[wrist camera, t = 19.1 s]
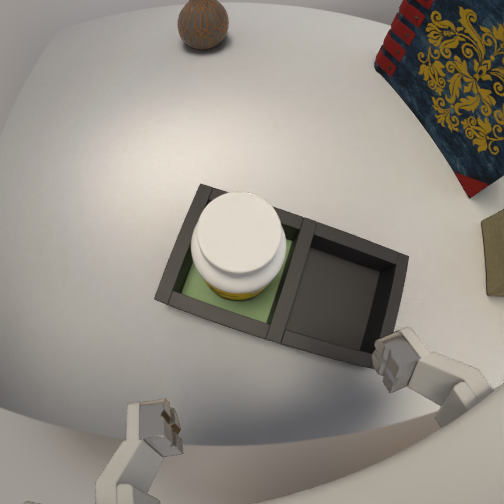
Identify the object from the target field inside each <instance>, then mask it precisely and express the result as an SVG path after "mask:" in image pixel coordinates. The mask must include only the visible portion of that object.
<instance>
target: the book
mask: <svg viewBox="0 0 504 504" xmlns="http://www.w3.org/2000/svg"><path fill="white" fill-rule="evenodd" d="M399 8H400V9H399V13H397V15H396V16H395V18H394V20H393V22H392V24H391V29H390V30H389V31H388V33H387V35H386V37H385V39H384V43H383V45H382V46H381V48H380V50H379V52H378V54H377V56H376V61H375V69H376V71H377V72H379V73H380V74H381V75H382V76H383V77H384V78H385V79H386V80H387V81H388V82H389V84H390V85H391V86H392V87H393V88H394V89H395V91H396V92H397V93H398V94H399V95H400V96H401V98H402V99H403V100H404V101H405V103H406V104H407V105H408V106H409V108H410V109H411V110H412V111H413V113H414V114H415V115H416V117H417V118H418V119H419V120H420V122H421V123H422V125H423V126H424V127H425V129H426V130H427V131H428V133H429V134H430V136H431V137H432V138H433V140H434V141H435V143H436V144H437V146H438V147H439V149H440V150H441V152H442V153H443V155H444V156H445V158H446V159H447V161H448V162H449V164H450V166H451V167H452V169H453V170H454V173H455V174H456V176H457V178H458V179H459V181H460V183H461V185H462V186H463V188H464V190H465V192H466V193H467V194H468V196H469V198H471V197H473V196H474V195H476V194H477V193H479V192H480V191H481V190H483V189H484V188H486V187H487V186H489V185H490V184H492V183H493V182H495V181H496V180H498V179H499V178H501V177H502V176H504V0H403V1H402V4H401V5H400V7H399Z"/></svg>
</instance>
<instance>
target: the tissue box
mask: <svg viewBox="0 0 504 504" xmlns="http://www.w3.org/2000/svg"><path fill="white" fill-rule="evenodd" d="M482 229H483V237H484V247H485V257H486V271H487V294H488V295H490V296H504V209H503V210H501V211H500V212H498V213H496V214H494V215H492V216H490V217H488V218H486V219H484V220H483V221H482Z"/></svg>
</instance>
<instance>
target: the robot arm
mask: <svg viewBox="0 0 504 504" xmlns="http://www.w3.org/2000/svg"><path fill="white" fill-rule="evenodd" d="M374 346H375V348H376V349H375V351H374V352H373V354H372V362H373V366H374V368H375V370H376V372H377V373H378V374H380V375H382V376H383V383H384V385H385V386H386V388H387V390H388V391H389V393H392V392H395V391H397V390H399V389H401V388H404V387H406V386H407V387H408V388H410V389H412V390H414V391H415V392H417V393H419V394H421V395H422V396H424V397H426V398H428V399H429V400H431V401H433V402H435V403H436V404H438V405H440V406H441V408H440V409H439V411H438V412H437V414H436V415H435V419H436V421H437V422H438V424H439V426H440V427H441V429H439V430H438V431H436V432H434V433H433V434H431V435H429V436H428V437H426V438H424V439H422V440H421V441H419V442H417V443H415V444H413V445H412V446H410V447H408V448H406V449H404V450H402V451H400V452H398V453H396V454H395V455H392V456H390V457H388V458H386V459H384V460H382V461H380V462H378V463H375V464H373V465H371V466H369V467H366V468H364V469H362V470H359V471H357V472H355V473H352V474H350V475H347V476H344V477H342V478H339V479H337V480H334V481H331V482H328V483H325V484H322V485H319V486H316V487H313V488H310V489H307V490H303V491H300V492H297V493H293V494H289V495H286V496H282V497H278V498H274V499H270V500H266V501H261V502H257V503H252V504H504V383H503V384H502V385H501V386H499V387H498V388H497V389H496V390H494V389H493V388H492V386H491V385H490V384H489V382H488V381H487V380H486V379H485V377H484V376H483V375H482V373H481V372H480V371H479V370H478V369H476V368H474V367H471V366H469V365H466V364H463V363H461V362H458V361H456V360H453V359H451V358H449V357H446V356H444V355H441V354H439V353H436V352H432V353H431V352H430V351H429V349H428V348H427V347H426V346H425V344H424V343H423V342H422V341H421V339H420V338H419V337H418V336H417V334H416V333H415V332H414V331H413V330H412V328H411V327H409V326H408V327H405V328H403V329H401V330H398V331H395V332H393V333H391V334H388V335H386V336H384V337H381V338H379V339H377V340H376V341H375V344H374ZM180 430H181V427H180V421H179V417H178V414H177V412H176V411H175V409H174V408H171V407H170V402H169V401H168V400H167V399H159V400H152V401H145V402H136V403H129V404H128V407H127V424H126V441H122V443H121V445H120V446H119V448H118V449H117V450H116V452H115V454H114V455H113V457H112V458H111V460H110V461H109V463H108V464H107V466H106V467H105V469H104V470H103V472H102V473H101V475H100V476H99V478H98V480H97V481H96V483H95V504H160V501H159V500H158V499H157V498H155V497H153V496H150V495H149V494H147V492H148V490H149V488H150V486H151V483H152V482H153V479H154V477H155V475H156V473H157V471H158V469H159V467H160V465H161V462H162V460H163V457H166V456H174V455H180V454H183V446H182V439H181V438H180V437H179V436H178V434H179V432H180ZM23 504H40V503H35V502H31V501H27V502H24V503H23Z"/></svg>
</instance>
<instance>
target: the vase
mask: <svg viewBox="0 0 504 504" xmlns="http://www.w3.org/2000/svg"><path fill="white" fill-rule="evenodd" d="M228 24H229V20H228V15H227V12H226V10H225V8H224V7H223V6H222V5H221V4H220V3H219V2H218V1H217V0H189V2H188V3H187V4H186V5H185V6H184V7H183V9H182V10H181V12H180V14H179V18H178V31H179V34H180V37H181V38H182V40H183V41H184V42H185V43H186V44H187V45H188V46H190V47H192V48H195V49H201V50H203V49H209V48H212V47H214V46H216V45H218V44H219V43H220V42H221V41H222V40H223V39H224V37H225V36H226V33H227V31H228Z"/></svg>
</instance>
